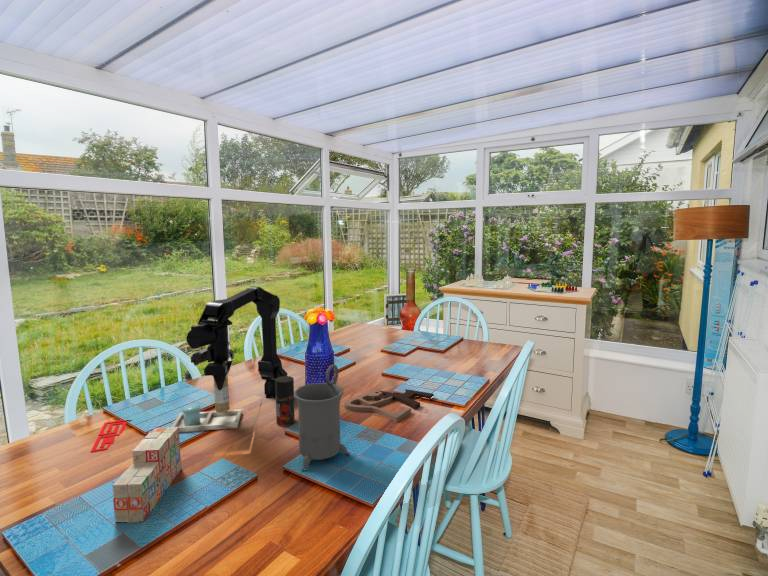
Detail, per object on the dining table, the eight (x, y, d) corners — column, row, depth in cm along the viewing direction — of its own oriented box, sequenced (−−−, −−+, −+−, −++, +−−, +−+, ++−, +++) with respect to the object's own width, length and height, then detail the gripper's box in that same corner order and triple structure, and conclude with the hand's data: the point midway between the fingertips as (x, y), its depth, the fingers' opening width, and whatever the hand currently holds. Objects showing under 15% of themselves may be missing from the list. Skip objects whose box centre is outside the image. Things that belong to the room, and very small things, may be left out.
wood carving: (433, 399, 165) (383, 385, 178) (434, 393, 164) (383, 380, 178) (393, 426, 142) (339, 408, 156) (393, 420, 142) (339, 403, 155)
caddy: (241, 415, 148) (241, 409, 148) (237, 430, 137) (237, 423, 137) (180, 420, 144) (179, 413, 144) (170, 435, 134) (169, 428, 133)
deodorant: (297, 419, 145) (296, 377, 143) (288, 427, 140) (287, 383, 138) (282, 417, 147) (281, 375, 145) (272, 424, 142) (271, 381, 140)
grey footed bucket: (326, 478, 112) (325, 386, 108) (280, 465, 118) (277, 378, 114) (359, 445, 129) (359, 365, 125) (318, 435, 135) (316, 358, 131)
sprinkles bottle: (225, 406, 144) (223, 367, 142) (232, 410, 141) (230, 371, 139) (212, 410, 141) (210, 371, 139) (218, 414, 138) (216, 374, 136)
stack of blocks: (144, 522, 95) (140, 471, 93) (114, 524, 94) (109, 472, 92) (181, 468, 116) (179, 425, 114) (157, 469, 115) (154, 426, 114)
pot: (203, 419, 143) (202, 403, 142) (199, 426, 138) (198, 410, 137) (185, 420, 142) (184, 404, 141) (181, 428, 137) (180, 411, 136)
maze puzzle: (104, 424, 142) (104, 422, 142) (171, 414, 150) (171, 412, 150) (90, 453, 124) (90, 451, 124) (168, 440, 132) (167, 438, 131)
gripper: (199, 334, 145) (201, 378, 148) (184, 350, 127) (187, 400, 129) (233, 333, 147) (235, 376, 150) (223, 348, 129) (226, 397, 131)
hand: (221, 387), depth 140 cm, fingers closed on sprinkles bottle, 4 cm apart
